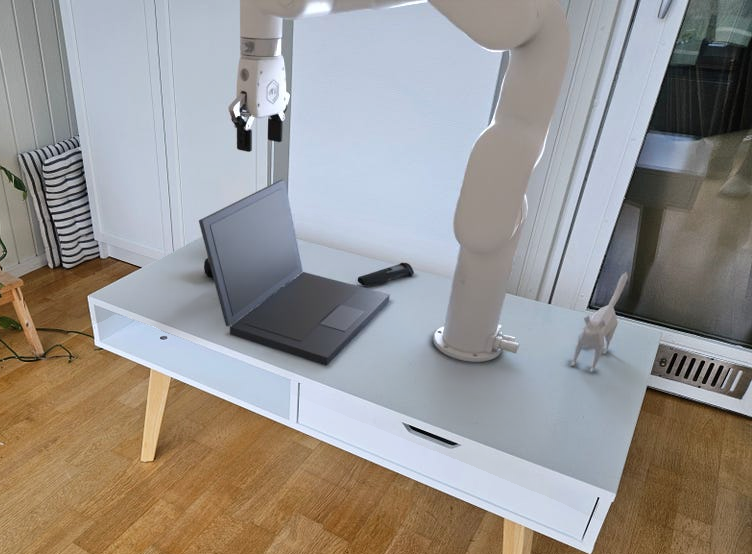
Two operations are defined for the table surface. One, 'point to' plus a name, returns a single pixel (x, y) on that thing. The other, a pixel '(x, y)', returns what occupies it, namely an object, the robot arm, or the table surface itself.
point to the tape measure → (207, 269)
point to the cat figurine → (600, 327)
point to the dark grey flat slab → (311, 317)
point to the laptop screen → (251, 249)
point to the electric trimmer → (386, 274)
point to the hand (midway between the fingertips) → (260, 145)
